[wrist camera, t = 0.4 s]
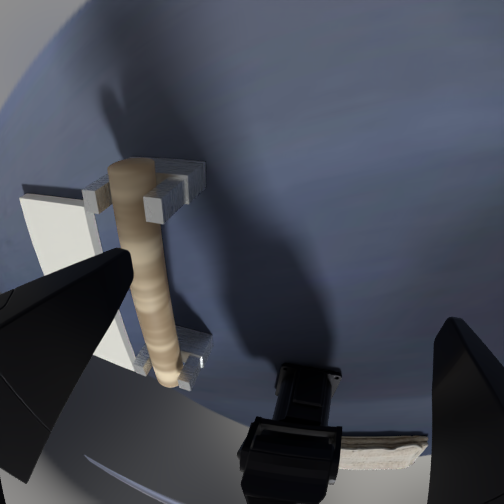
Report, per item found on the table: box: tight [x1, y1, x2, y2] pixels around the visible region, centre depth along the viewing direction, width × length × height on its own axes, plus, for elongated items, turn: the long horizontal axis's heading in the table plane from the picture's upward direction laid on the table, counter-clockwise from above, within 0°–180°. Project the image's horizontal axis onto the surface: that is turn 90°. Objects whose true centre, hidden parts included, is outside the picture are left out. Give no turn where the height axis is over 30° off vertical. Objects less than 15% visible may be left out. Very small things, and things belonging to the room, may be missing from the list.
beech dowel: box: [108, 158, 183, 387], centre depth 24 cm, size 22×3×3 cm, turn 177°
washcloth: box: [338, 436, 428, 470], centre depth 39 cm, size 12×18×3 cm, turn 100°
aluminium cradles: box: [82, 156, 213, 391], centre depth 25 cm, size 20×6×6 cm, turn 177°
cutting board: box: [19, 193, 136, 371], centre depth 33 cm, size 25×11×1 cm, turn 177°
